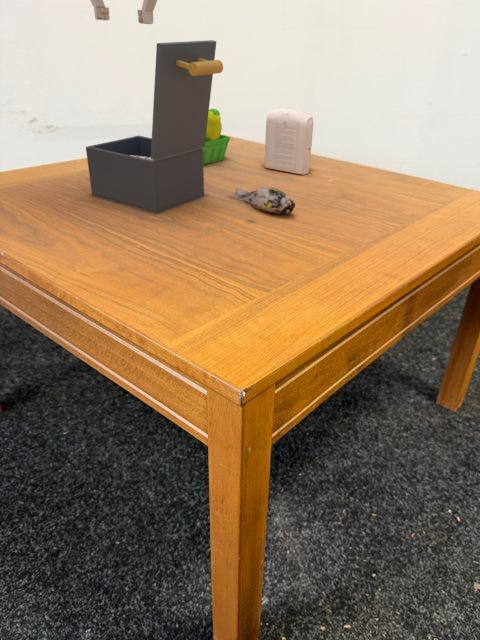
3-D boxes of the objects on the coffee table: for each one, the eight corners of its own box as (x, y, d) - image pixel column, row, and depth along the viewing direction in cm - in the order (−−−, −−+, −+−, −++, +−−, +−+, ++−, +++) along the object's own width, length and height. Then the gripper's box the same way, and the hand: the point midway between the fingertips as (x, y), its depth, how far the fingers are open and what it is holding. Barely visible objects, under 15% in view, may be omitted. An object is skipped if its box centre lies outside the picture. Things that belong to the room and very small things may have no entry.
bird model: (261, 240, 92) (251, 224, 89) (232, 199, 102) (222, 183, 98) (301, 212, 92) (292, 195, 89) (268, 173, 101) (259, 157, 98)
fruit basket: (207, 153, 129) (206, 101, 123) (236, 160, 124) (236, 107, 118) (171, 162, 121) (168, 107, 115) (200, 170, 117) (199, 113, 111)
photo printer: (312, 172, 118) (317, 110, 112) (304, 176, 115) (308, 113, 109) (270, 164, 122) (272, 104, 116) (261, 168, 119) (263, 107, 112)
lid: (156, 42, 77) (184, 52, 75) (212, 40, 86) (238, 48, 84) (150, 158, 87) (174, 169, 85) (201, 145, 96) (224, 155, 94)
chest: (92, 197, 99) (85, 146, 94) (142, 182, 108) (138, 135, 103) (156, 216, 92) (152, 162, 87) (204, 198, 100) (203, 148, 96)
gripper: (48, -93, 80) (62, 18, 88) (151, -98, 71) (157, 26, 78) (82, -87, 85) (93, 18, 92) (183, -91, 76) (186, 26, 83)
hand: (123, 22), depth 85 cm, fingers open, 8 cm apart
